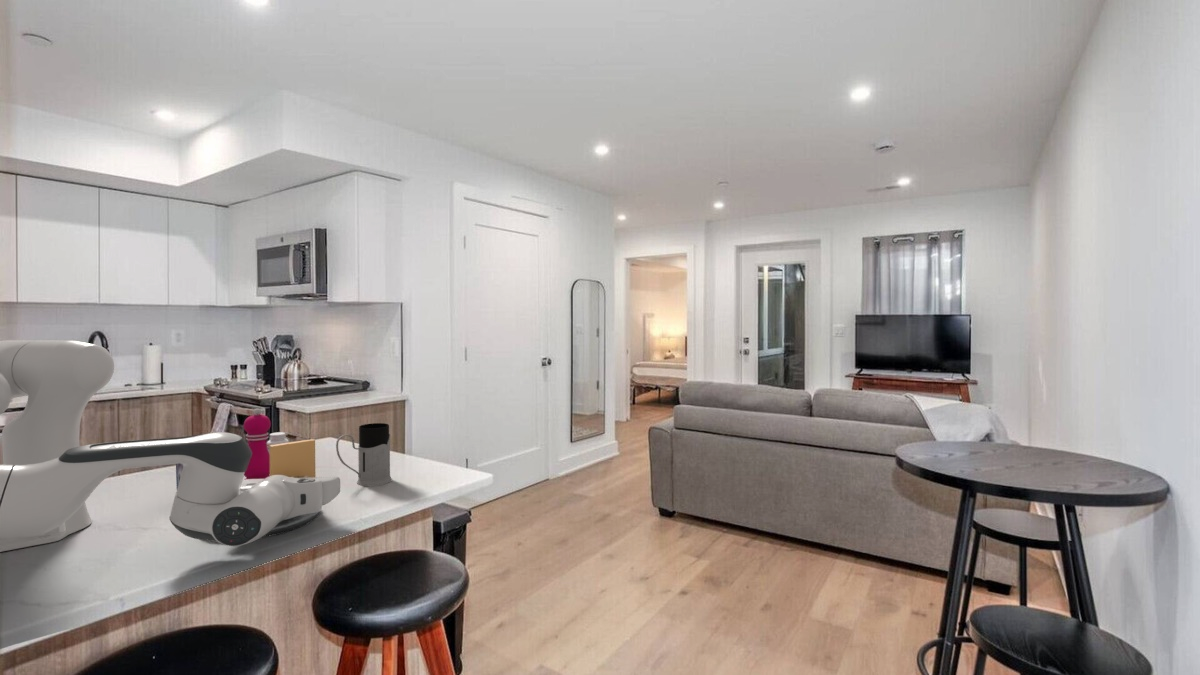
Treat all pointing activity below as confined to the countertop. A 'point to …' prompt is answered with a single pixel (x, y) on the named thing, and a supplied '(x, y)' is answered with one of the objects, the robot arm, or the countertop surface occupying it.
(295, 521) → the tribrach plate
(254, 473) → the pepper mill
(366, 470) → the glass holder
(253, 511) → the robot arm
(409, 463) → the countertop surface
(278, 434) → the supplement bottle
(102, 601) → the countertop surface
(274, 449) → the tan slab with dome
